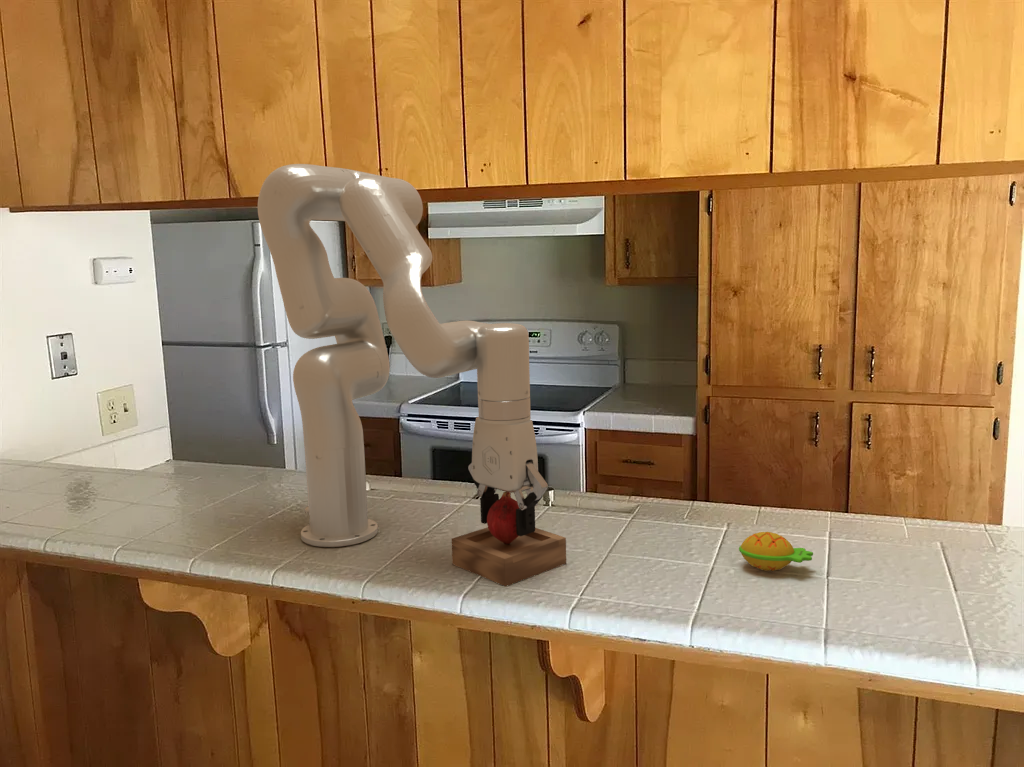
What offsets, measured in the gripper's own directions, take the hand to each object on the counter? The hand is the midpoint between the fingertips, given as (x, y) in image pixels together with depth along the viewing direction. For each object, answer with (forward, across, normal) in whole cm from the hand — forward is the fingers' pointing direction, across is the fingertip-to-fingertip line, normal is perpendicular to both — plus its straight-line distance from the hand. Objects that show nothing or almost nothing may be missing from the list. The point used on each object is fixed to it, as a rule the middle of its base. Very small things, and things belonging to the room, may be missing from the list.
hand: (507, 526), depth 124 cm
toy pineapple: (+6, +29, +25) cm, 39 cm away
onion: (+3, 0, 0) cm, 3 cm away
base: (+6, 0, 0) cm, 6 cm away
